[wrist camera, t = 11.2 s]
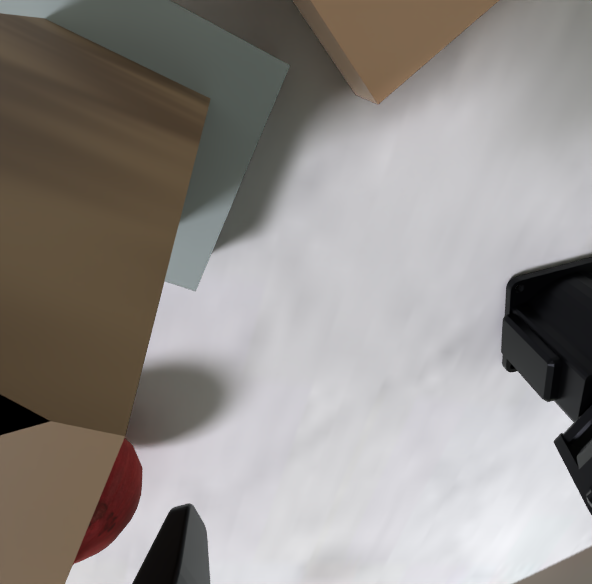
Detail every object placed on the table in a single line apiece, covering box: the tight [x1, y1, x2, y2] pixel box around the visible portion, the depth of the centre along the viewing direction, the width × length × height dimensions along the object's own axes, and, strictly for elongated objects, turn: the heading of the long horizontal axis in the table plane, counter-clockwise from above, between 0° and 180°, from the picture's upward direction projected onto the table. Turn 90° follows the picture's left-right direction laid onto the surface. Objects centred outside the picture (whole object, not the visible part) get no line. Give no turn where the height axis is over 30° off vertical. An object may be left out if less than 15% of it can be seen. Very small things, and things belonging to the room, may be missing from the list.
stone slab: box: [0, 0, 290, 291], centre depth 16 cm, size 9×9×3 cm
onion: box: [73, 438, 142, 564], centre depth 21 cm, size 6×6×8 cm
